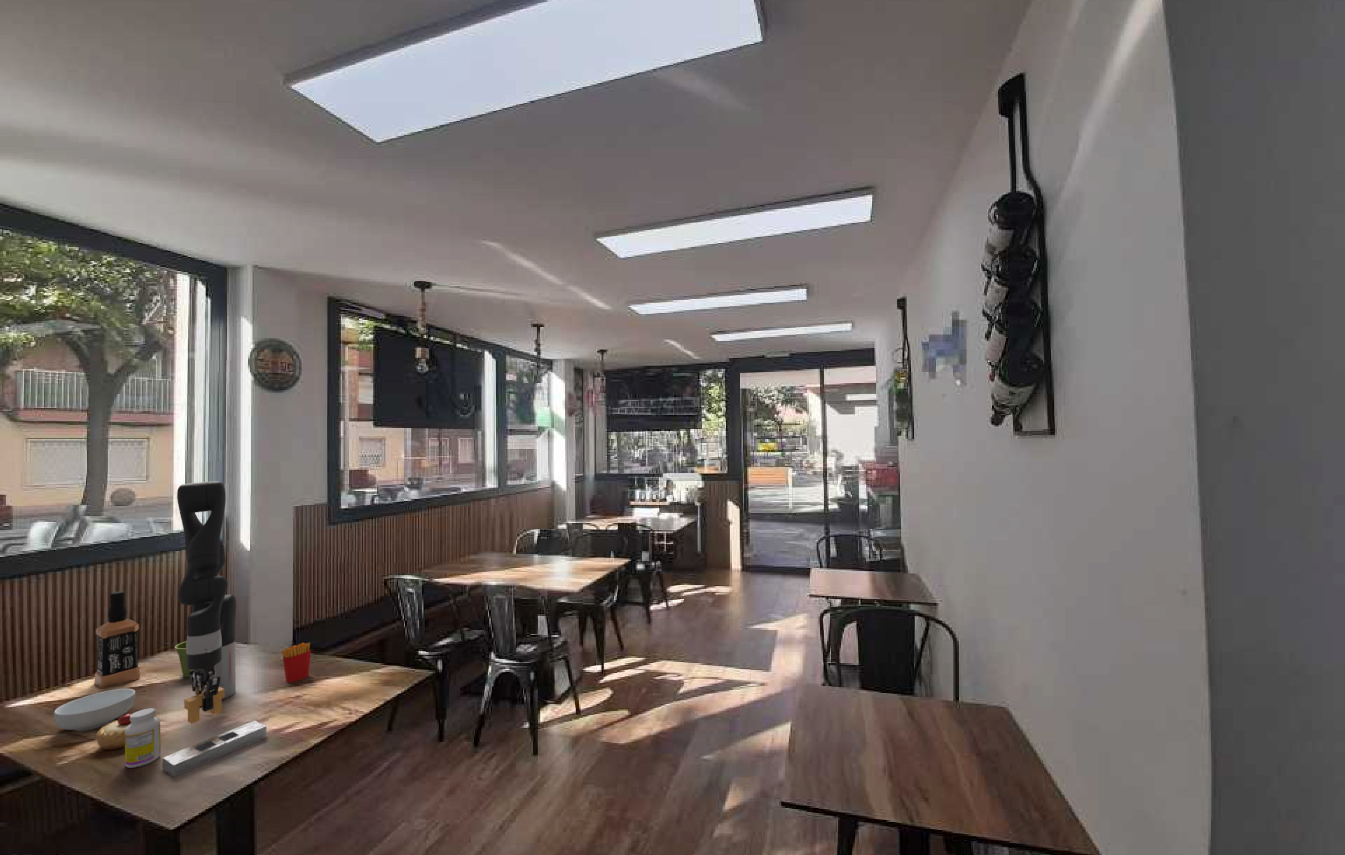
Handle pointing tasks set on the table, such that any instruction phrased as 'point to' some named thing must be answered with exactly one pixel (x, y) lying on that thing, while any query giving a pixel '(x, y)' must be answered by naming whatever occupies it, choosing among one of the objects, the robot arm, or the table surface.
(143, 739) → the supplement bottle
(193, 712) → the ochre wooden block
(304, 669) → the french fries
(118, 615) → the whiskey bottle
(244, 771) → the table surface
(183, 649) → the plant pot
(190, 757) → the rail
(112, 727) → the pastry
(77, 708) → the cereal bowl
